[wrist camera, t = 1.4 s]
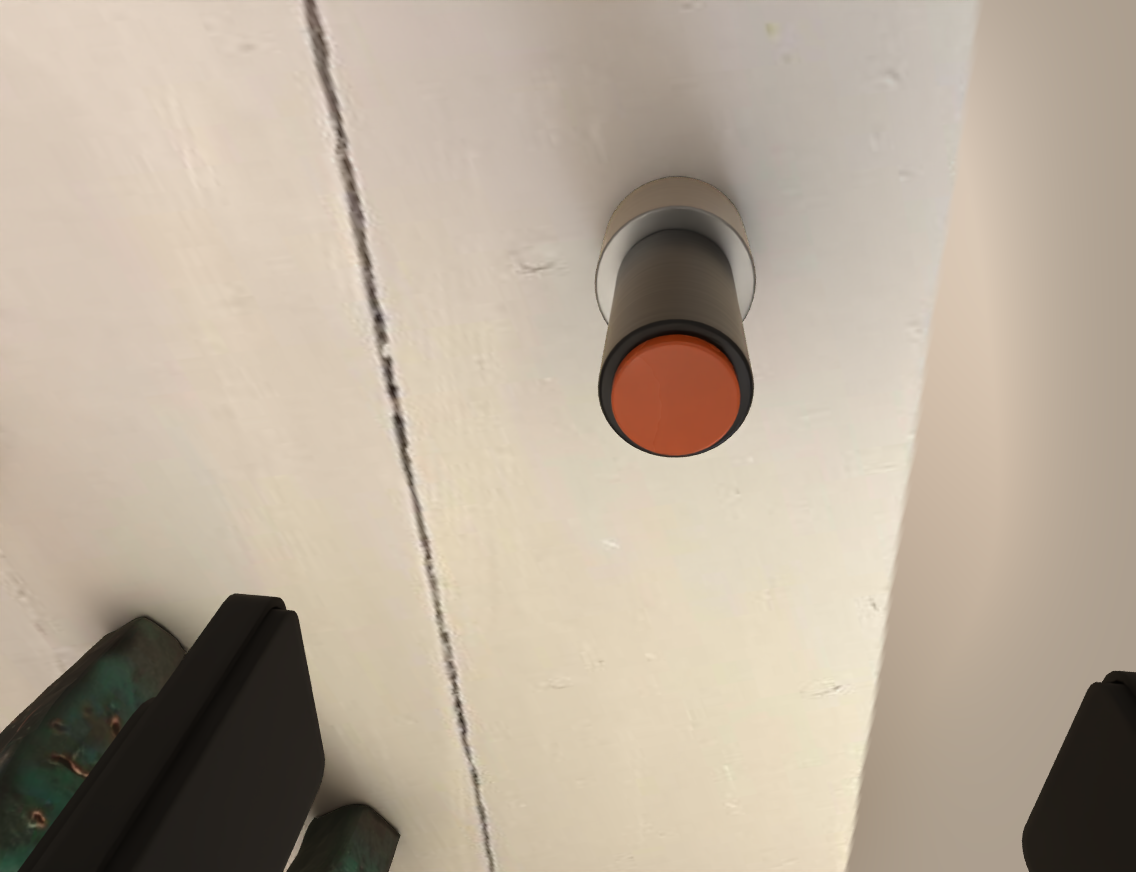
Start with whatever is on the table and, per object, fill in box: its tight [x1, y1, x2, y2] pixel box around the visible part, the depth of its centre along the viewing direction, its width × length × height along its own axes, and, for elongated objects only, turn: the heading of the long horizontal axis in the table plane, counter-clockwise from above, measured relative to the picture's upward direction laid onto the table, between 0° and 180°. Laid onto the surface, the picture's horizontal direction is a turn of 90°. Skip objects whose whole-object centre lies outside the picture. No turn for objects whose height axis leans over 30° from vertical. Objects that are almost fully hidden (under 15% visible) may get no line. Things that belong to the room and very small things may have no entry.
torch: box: [595, 177, 756, 457], centre depth 21 cm, size 4×4×10 cm
